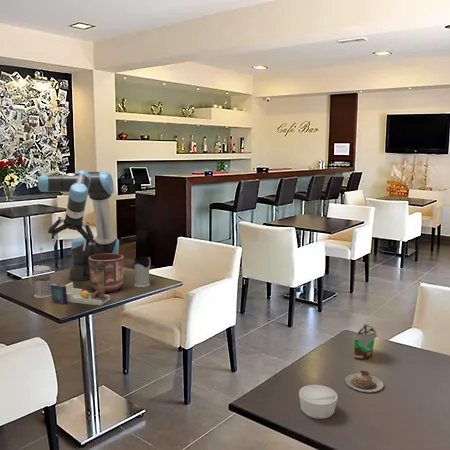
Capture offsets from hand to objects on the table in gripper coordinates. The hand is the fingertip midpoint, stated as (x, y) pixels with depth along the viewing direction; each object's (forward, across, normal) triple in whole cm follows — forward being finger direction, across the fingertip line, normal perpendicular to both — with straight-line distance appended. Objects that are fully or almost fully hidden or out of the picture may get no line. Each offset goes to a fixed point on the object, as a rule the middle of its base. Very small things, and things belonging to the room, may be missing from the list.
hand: (69, 245), depth 229 cm
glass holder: (+31, +42, +11) cm, 54 cm away
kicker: (+19, +19, -13) cm, 30 cm away
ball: (+22, +12, -10) cm, 27 cm away
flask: (+26, +1, -14) cm, 30 cm away
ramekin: (-56, +82, -100) cm, 141 cm away
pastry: (-54, +102, -88) cm, 145 cm away
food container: (-46, +113, -71) cm, 141 cm away
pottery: (+31, +23, +3) cm, 39 cm away
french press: (+36, -9, -4) cm, 37 cm away
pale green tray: (+24, +12, -12) cm, 29 cm away
